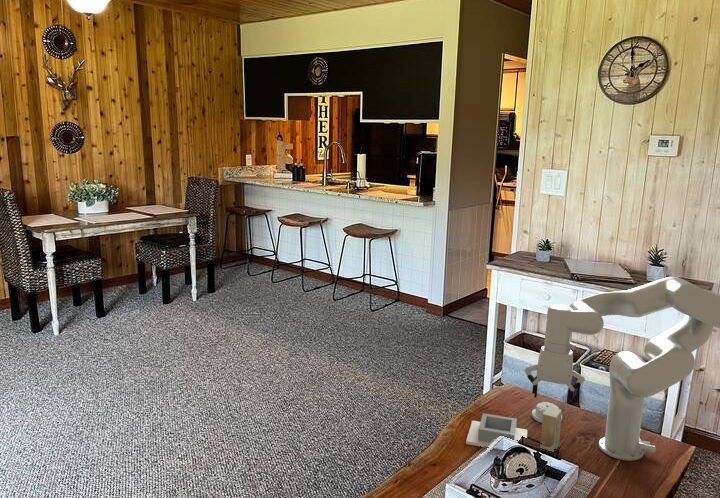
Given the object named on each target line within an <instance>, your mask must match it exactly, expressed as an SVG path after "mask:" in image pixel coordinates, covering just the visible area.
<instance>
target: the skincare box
mask: <svg viewBox="0 0 720 498" xmlns="http://www.w3.org/2000/svg"><path fill="white" fill-rule="evenodd" d="M562 412H563V410H562V409H560V408H559V409H556V408H553V407H549V406H548V407H547V409H546V410H545V411H544V413H543V417H542V423H541V432H540V443H542V445H541V444H539V445H540V446H539V449H540V448H543V449H546V450H548V451H552V452H554V449H556V450H557V449H558V447H559V446H560V439H561V437H560V435H561V424H562V421H561V415H562V414H563V413H562ZM548 451H547V452H548ZM554 453H555V452H554Z"/></svg>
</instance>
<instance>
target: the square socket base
mask: <svg viewBox="0 0 720 498" xmlns="http://www.w3.org/2000/svg"><path fill="white" fill-rule="evenodd" d="M517 419H518V418H514V417H510V416H509V417H507V416H502V415H496V414H489V413H484V412H483V413H482V415H481V418H480V421H478V420H471V424H470V428H469V430H468V434H467V437H466V441H465V445H470V446H475V447H476V446H477V447H480V446H481V447H482V448H485V447H484V446H486V445H487V444H489V443H490V442H491V441H492V440H493V439H495V438H496V437H499V436H504V437H507V438H510V439H512V440H518V441H519V440H520V439H521V437H522V436H523V437H525V438H527V439H528V429H525V428H520V427H517V423H518V422H517V421H518V420H517Z"/></svg>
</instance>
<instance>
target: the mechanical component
mask: <svg viewBox="0 0 720 498" xmlns="http://www.w3.org/2000/svg"><path fill="white" fill-rule="evenodd" d="M548 406H549V407H553V408H556V409H560V407H559V406H558V405H556V404H555V403H552V402H549V401H542V402H538V403H537V404H536V406H535V408H534V409H532V411H531V417H532V419H534V420H535V421H536V422H539V423H541V424H542V417H543V413H544V411H545V410H546V409H547V407H548ZM562 421H563V415H562V414H561V422H562Z"/></svg>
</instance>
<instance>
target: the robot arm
mask: <svg viewBox="0 0 720 498" xmlns="http://www.w3.org/2000/svg"><path fill="white" fill-rule="evenodd" d="M671 308H672V309H674V310H676V311H677V312H680V313H681V314H683V315H685V316H684V318H683V319H682V320H681V321H680V322H679V323H677V324H676V325H674V326H673V327H671V328H669V329H667V330H665V331H664V332H662V333H659V335H656V336H654V337H653V338H651V339H650V340H648V341H647V343H645V345H644V348H643V353H644V354H645V355H644V356H645V357H646V358H647V359H648V361H646V360H645V359H643V357H641V356H640V355H638V354H637V353H635V352H632V351H628V350H625V351H619V352H617V353H616V354H615V355H614V356H612V359H610V363H609V369H608V370H609V397H608V403H607V404H608V406H607V416H606V422H605V423H606V425H605V434H604V437H602V438H600V439H599V440H598V447H599V449H600V450H601V451H602V452H603V453H604V454H606V455H608V456H609V457H611V458H614V459H617V460H622V461H637V460H640V459H642V458H643V456H644V451H647V452H651V453H656V452H657V451H656V450H657V448H656V447H657V446H656V445H653V444H651V441H647V440H642V439H641V438H640V436H641V427H642V417H643V411H644V410H643V408H644V401H645V398H649V397H653V396H655V395H657V394H659V393H661V392H663V391H665V390H666V389H668V388H670V387H672V386H673V385H676V384H677V383H679V382H681V381H683V380H684V379H686V378H688V377H689V376H690V375H691V374H692V372H693V371H694V368H695V366H696V365H695V364H696V359H695V356H694V355H693V352H694V351H696V350H698V349H700V347H701V348H702V346H704V345H705V344H706V343H707V342H708V341H709V338H710V337H711V335H712V333H713V332H712V331H713V329H714V328H717V329H720V294H718V293H716V292H715V291H713V290H709V289H704V288H702V287H699V286H697V285H695V284H694V283H691V282H689V281H687V280H685V279H683V278H681V277H678V276H668V277H664V278H661V279H657V280H654V281H652V282H649V283H645V284H643V285H639V286H636V287H634V288H631V289H630V288H629V289H627V290H615V291H609V292H601V293H596V294H593V295H589V296H586V297H583V298H580V299H577V300H576V301H574V302H572V303H570V305H569V306H567V305H564V304H553V305H550V306H549V307H548V309H547V311H546V312H547V313H546V314H547V315H546V324H545V330H544V331H545V332H544V341H543V343H544V344H543V346H541V348H540V351H539V355H538V358H537V359H538V361H537V364H534V365H530V366H528V367H525V368H524V372H525V374H526V376H527V379H528V380H529V381H530V382H531V383H532V394H533V396H534V398H538V387H539V383H540V382H541V381H542V382H547V383H553V384H558V385H559V384H561V385H566V386H567V387H568V388H567V394H566V395H567V396H566V402H567V404H570V402H571V401H573V397H574V392H575V390H576V389H578V388H580V387H581V385H582V384H583V383H584V382H585V380H586V378H585V376H583V375H582V374H580V373H579V372H577V371H576V370H574V369H573V367H574V355H573V351H572V350H576V348H577V345H576V344H574V343H573V342H572V337H573V333H576V334H581V335H587V336H591V335H593V336H594V335H597V334H598V333H600V332H601V331H602V330H603V328H604V326H605V325H604V324H605V323H604V318H603V317H606V316H621V317H628V318H642V317H645V316H648V315H651V314H655V313H657V312H660V311H664V310H666V309H671ZM534 371H536V376H533V374H532V373H531V372H534ZM573 377H574V378H576V379H577V381H575V382H574V383H573V382H572V380H573Z"/></svg>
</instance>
